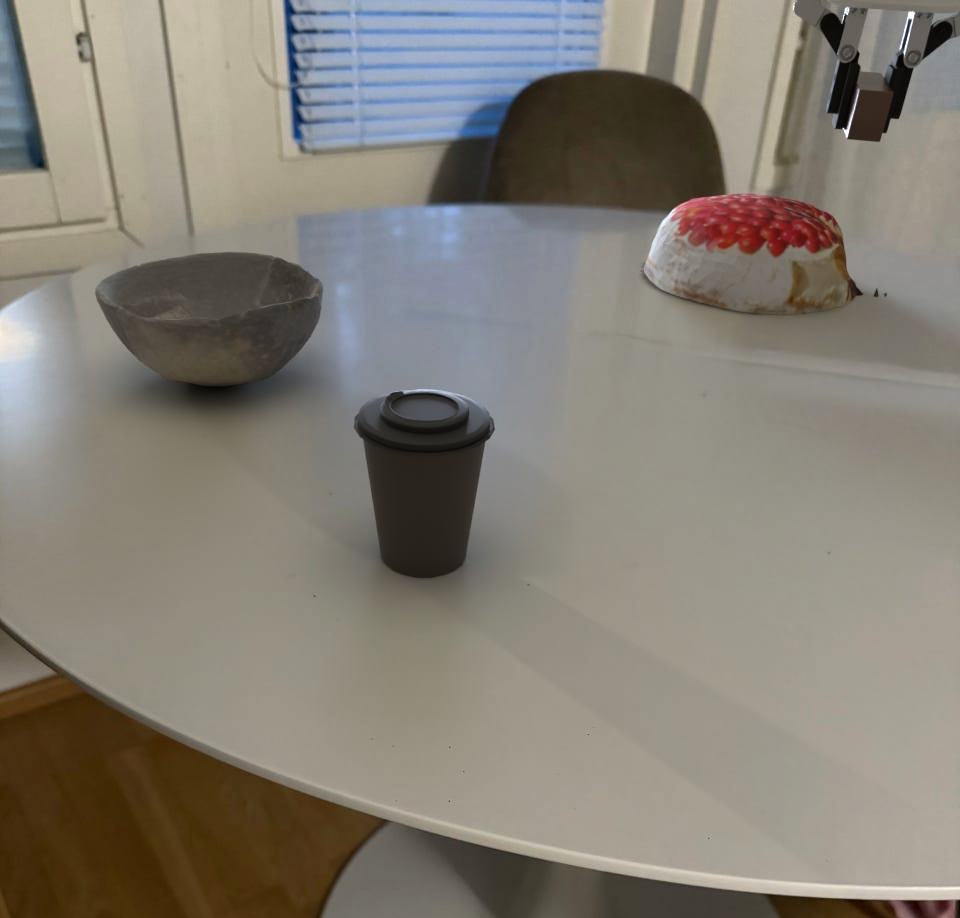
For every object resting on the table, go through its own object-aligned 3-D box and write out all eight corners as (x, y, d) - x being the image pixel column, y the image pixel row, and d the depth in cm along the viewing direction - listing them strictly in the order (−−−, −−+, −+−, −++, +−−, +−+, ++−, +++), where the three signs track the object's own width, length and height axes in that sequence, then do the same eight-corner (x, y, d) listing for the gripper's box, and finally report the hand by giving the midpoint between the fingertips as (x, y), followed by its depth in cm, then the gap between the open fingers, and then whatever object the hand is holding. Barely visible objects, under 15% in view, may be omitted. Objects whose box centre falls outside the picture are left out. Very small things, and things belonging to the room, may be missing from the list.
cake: (907, 327, 98) (939, 225, 92) (682, 331, 95) (700, 224, 89) (810, 261, 116) (832, 172, 110) (617, 262, 113) (629, 169, 106)
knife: (879, 142, 65) (893, 92, 63) (846, 139, 65) (859, 89, 63) (858, 95, 79) (868, 53, 77) (830, 93, 79) (840, 50, 77)
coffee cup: (371, 516, 63) (367, 371, 57) (492, 526, 63) (501, 381, 57) (346, 583, 57) (338, 428, 51) (481, 595, 57) (489, 440, 51)
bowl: (206, 322, 91) (195, 233, 86) (365, 359, 85) (363, 267, 80) (64, 385, 78) (41, 285, 73) (240, 435, 72) (228, 330, 67)
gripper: (813, -230, 55) (744, 126, 66) (1109, -220, 53) (986, 148, 64) (806, -215, 61) (744, 110, 72) (1073, -206, 59) (966, 129, 70)
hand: (859, 125), depth 68 cm, fingers closed on knife, 2 cm apart
